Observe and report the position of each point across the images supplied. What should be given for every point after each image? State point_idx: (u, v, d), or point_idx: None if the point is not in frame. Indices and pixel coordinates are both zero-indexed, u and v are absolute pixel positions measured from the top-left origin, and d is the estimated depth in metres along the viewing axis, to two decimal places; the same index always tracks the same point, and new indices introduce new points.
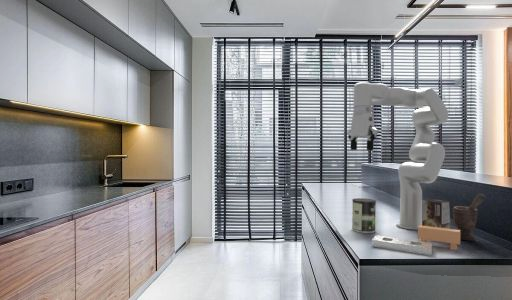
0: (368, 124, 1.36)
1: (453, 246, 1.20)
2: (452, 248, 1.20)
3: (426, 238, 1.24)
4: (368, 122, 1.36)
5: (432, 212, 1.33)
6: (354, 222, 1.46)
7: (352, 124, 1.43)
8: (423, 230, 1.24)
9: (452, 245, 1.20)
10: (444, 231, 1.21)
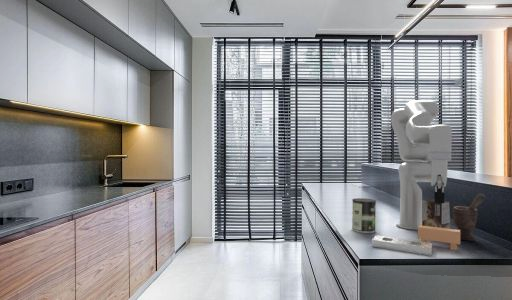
0: None
1: (453, 246, 1.20)
2: (452, 248, 1.20)
3: (426, 238, 1.24)
4: None
5: (432, 212, 1.33)
6: (354, 222, 1.46)
7: (446, 172, 1.19)
8: (423, 230, 1.24)
9: (452, 245, 1.20)
10: (444, 231, 1.21)
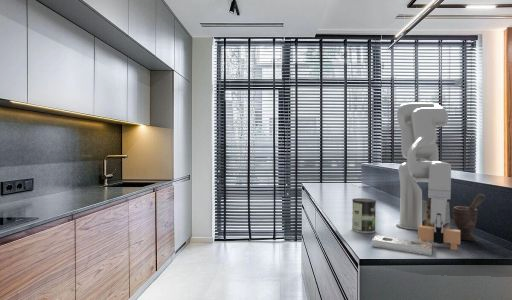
0: None
1: (453, 246, 1.20)
2: (452, 248, 1.20)
3: (426, 238, 1.24)
4: None
5: None
6: (354, 222, 1.46)
7: (445, 211, 1.19)
8: (423, 230, 1.24)
9: (452, 245, 1.20)
10: (444, 231, 1.21)
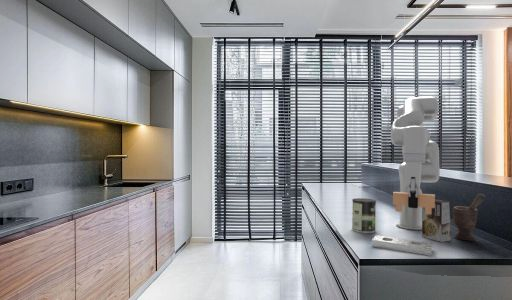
0: None
1: (428, 211, 1.18)
2: (427, 212, 1.18)
3: (401, 203, 1.21)
4: None
5: (432, 212, 1.33)
6: (354, 222, 1.46)
7: (419, 174, 1.17)
8: (398, 195, 1.22)
9: (427, 209, 1.18)
10: (419, 195, 1.19)
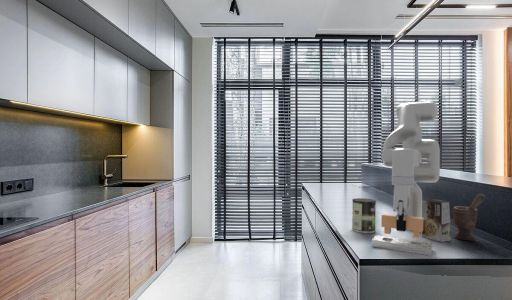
0: None
1: (416, 234, 1.17)
2: (415, 236, 1.17)
3: (389, 226, 1.21)
4: None
5: (432, 212, 1.33)
6: (354, 222, 1.46)
7: (407, 197, 1.17)
8: (386, 217, 1.21)
9: (415, 233, 1.17)
10: (407, 218, 1.18)
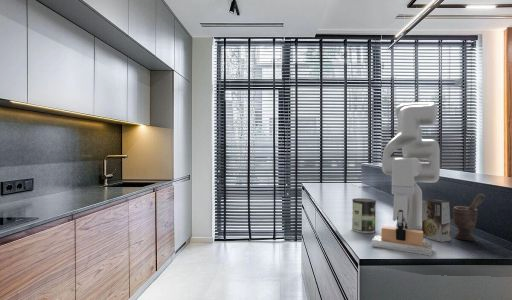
0: None
1: None
2: None
3: (389, 239, 1.21)
4: None
5: (432, 212, 1.33)
6: (354, 222, 1.46)
7: (407, 207, 1.17)
8: (386, 231, 1.22)
9: None
10: (407, 232, 1.18)
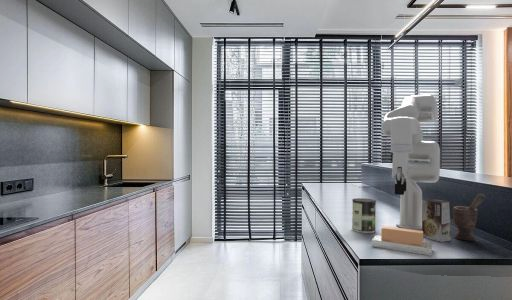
0: None
1: None
2: None
3: (389, 239, 1.21)
4: None
5: (432, 212, 1.33)
6: (354, 222, 1.46)
7: (406, 164, 1.20)
8: (386, 231, 1.22)
9: None
10: (407, 232, 1.18)
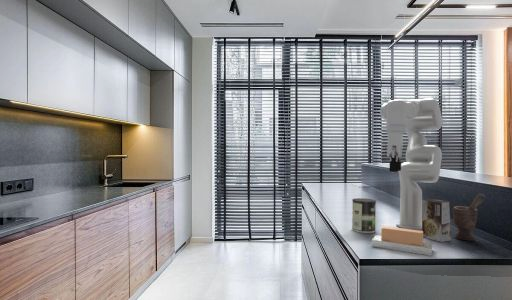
0: None
1: None
2: None
3: (389, 239, 1.21)
4: None
5: (432, 212, 1.33)
6: (354, 222, 1.46)
7: (400, 143, 1.29)
8: (386, 231, 1.22)
9: None
10: (407, 232, 1.18)
